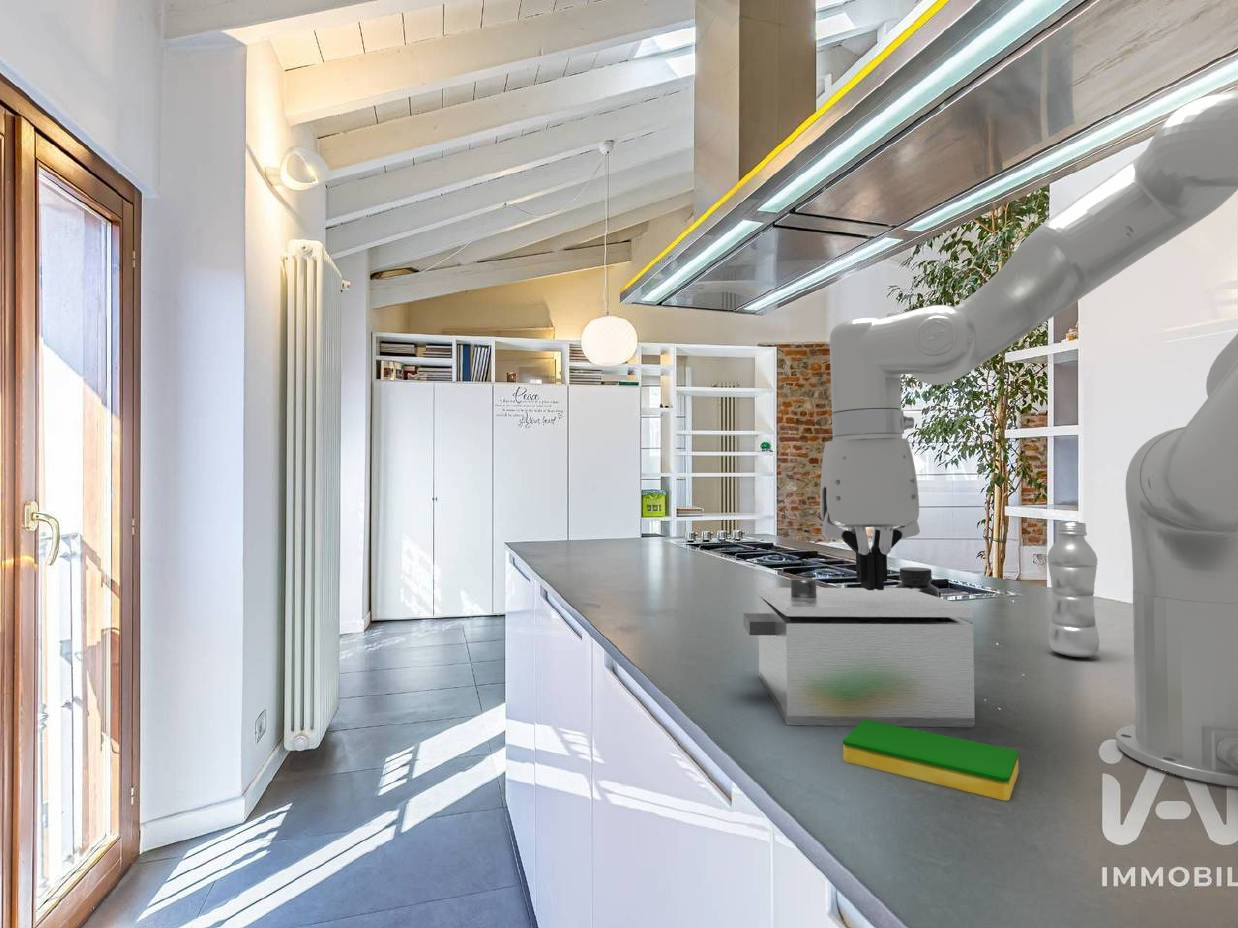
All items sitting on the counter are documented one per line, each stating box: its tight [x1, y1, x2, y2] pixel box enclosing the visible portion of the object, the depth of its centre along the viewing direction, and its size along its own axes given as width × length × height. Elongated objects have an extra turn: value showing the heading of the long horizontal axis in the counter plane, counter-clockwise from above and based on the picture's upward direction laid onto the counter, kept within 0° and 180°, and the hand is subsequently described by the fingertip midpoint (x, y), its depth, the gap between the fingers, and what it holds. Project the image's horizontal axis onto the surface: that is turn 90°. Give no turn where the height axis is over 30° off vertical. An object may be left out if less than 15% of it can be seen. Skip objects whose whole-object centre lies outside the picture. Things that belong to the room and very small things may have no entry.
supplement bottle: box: [894, 566, 940, 598], centre depth 110 cm, size 7×7×12 cm
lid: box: [758, 578, 974, 618], centre depth 82 cm, size 18×20×3 cm
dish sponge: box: [842, 720, 1019, 801], centre depth 63 cm, size 7×14×2 cm, turn 54°
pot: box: [742, 595, 976, 728], centre depth 82 cm, size 18×26×11 cm
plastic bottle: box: [1046, 521, 1100, 658], centre depth 102 cm, size 6×7×20 cm
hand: (872, 588), depth 77 cm, fingers closed
